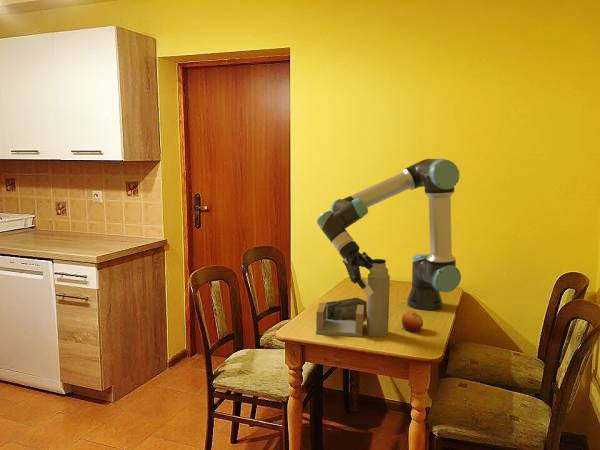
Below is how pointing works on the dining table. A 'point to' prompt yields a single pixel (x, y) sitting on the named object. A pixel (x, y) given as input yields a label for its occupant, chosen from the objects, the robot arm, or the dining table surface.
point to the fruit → (412, 321)
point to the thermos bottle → (378, 299)
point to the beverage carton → (344, 308)
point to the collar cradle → (339, 323)
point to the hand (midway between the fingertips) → (380, 290)
